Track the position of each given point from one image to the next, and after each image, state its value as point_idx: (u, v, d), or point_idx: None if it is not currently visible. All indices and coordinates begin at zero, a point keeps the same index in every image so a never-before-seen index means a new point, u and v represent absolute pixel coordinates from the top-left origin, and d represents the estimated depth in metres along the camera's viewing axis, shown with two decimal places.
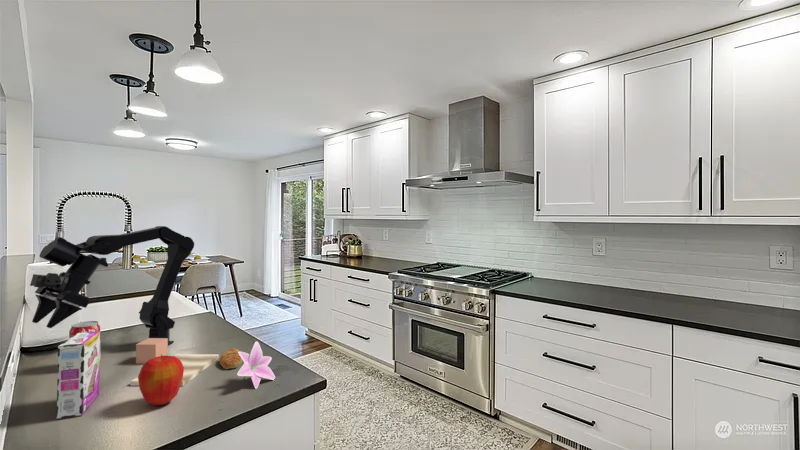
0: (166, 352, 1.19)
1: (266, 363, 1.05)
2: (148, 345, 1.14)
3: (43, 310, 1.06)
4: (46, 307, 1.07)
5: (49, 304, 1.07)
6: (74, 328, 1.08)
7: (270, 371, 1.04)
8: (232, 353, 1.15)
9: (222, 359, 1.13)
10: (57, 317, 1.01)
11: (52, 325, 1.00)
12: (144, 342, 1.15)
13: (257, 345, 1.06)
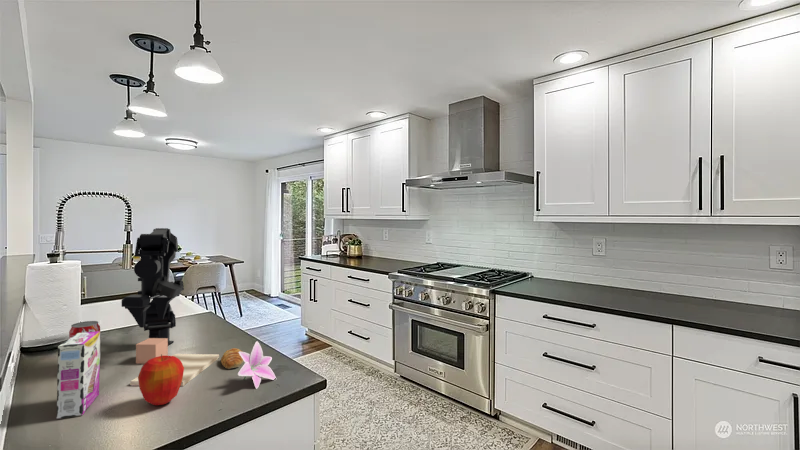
0: (166, 352, 1.19)
1: (266, 363, 1.05)
2: (148, 345, 1.14)
3: None
4: None
5: None
6: (74, 328, 1.08)
7: (270, 371, 1.04)
8: (233, 353, 1.15)
9: (223, 359, 1.13)
10: None
11: None
12: (144, 342, 1.15)
13: (257, 345, 1.06)
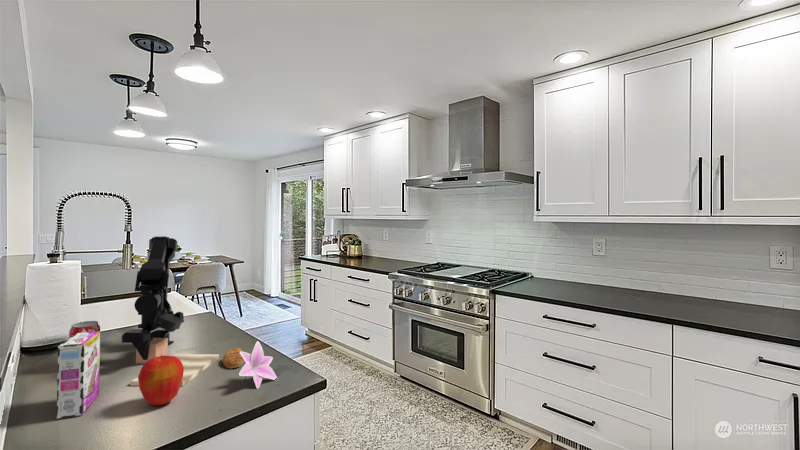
0: (166, 352, 1.19)
1: (267, 363, 1.06)
2: None
3: None
4: None
5: None
6: (74, 328, 1.08)
7: (271, 371, 1.04)
8: (235, 352, 1.15)
9: (225, 359, 1.13)
10: None
11: None
12: None
13: (258, 345, 1.06)
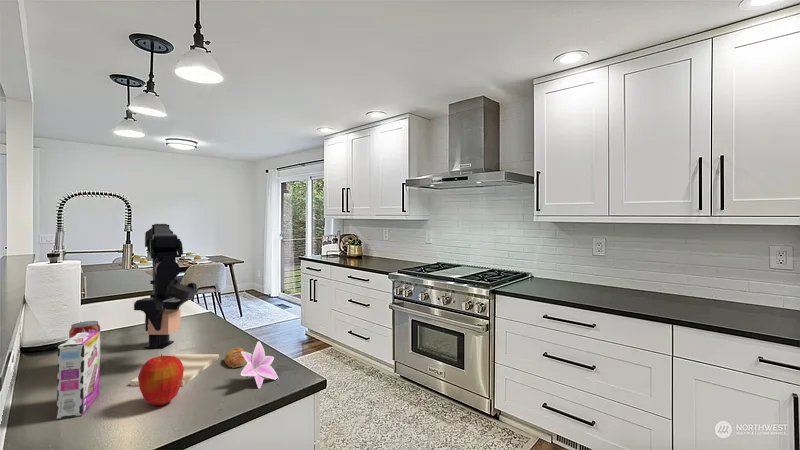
0: (179, 324, 1.15)
1: (268, 363, 1.06)
2: None
3: None
4: None
5: None
6: (74, 328, 1.08)
7: (273, 371, 1.05)
8: (237, 352, 1.16)
9: (227, 358, 1.14)
10: None
11: None
12: None
13: (259, 345, 1.06)
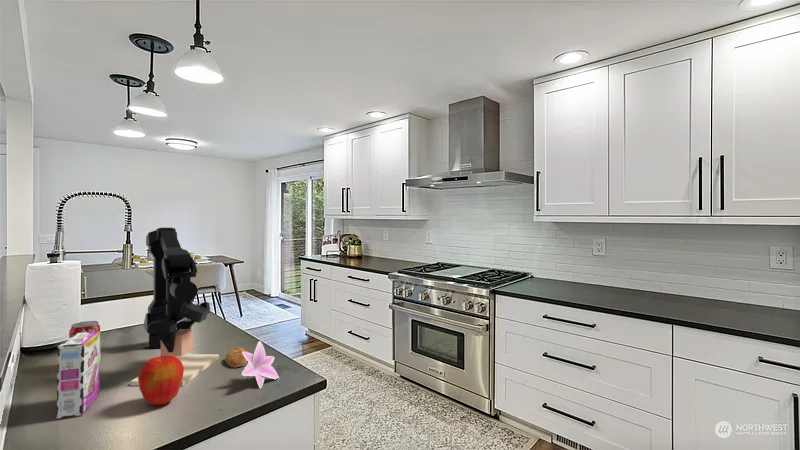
0: (191, 344, 1.12)
1: (269, 363, 1.06)
2: None
3: None
4: None
5: None
6: (74, 328, 1.08)
7: (273, 370, 1.05)
8: (238, 352, 1.16)
9: (229, 358, 1.14)
10: None
11: None
12: None
13: (260, 344, 1.06)
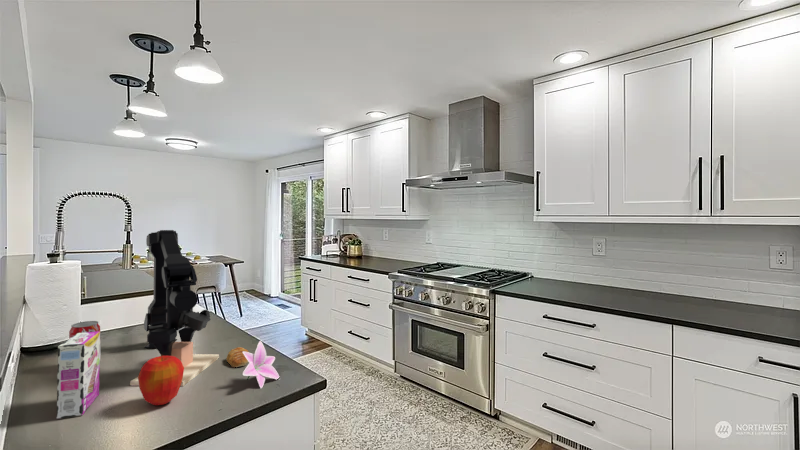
0: (191, 356, 1.12)
1: (270, 363, 1.06)
2: (173, 349, 1.07)
3: None
4: None
5: None
6: (74, 328, 1.08)
7: (274, 370, 1.05)
8: (239, 351, 1.16)
9: (230, 358, 1.14)
10: None
11: None
12: None
13: (261, 344, 1.06)
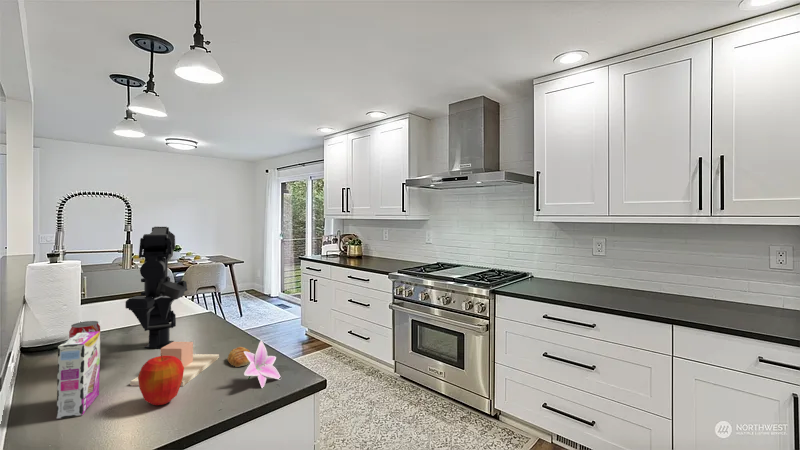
0: (191, 356, 1.12)
1: (271, 363, 1.06)
2: (173, 349, 1.07)
3: None
4: None
5: None
6: (74, 328, 1.08)
7: (275, 370, 1.05)
8: (241, 351, 1.16)
9: (231, 357, 1.14)
10: None
11: None
12: (168, 346, 1.08)
13: (262, 344, 1.06)
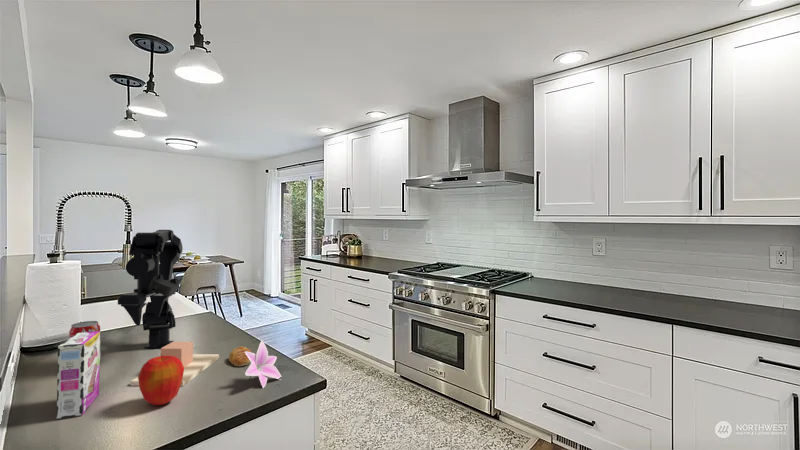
0: (191, 356, 1.12)
1: (272, 363, 1.06)
2: (173, 349, 1.07)
3: None
4: None
5: None
6: (74, 328, 1.08)
7: (276, 370, 1.05)
8: (242, 351, 1.17)
9: (233, 357, 1.15)
10: None
11: None
12: (168, 346, 1.08)
13: (262, 344, 1.06)
